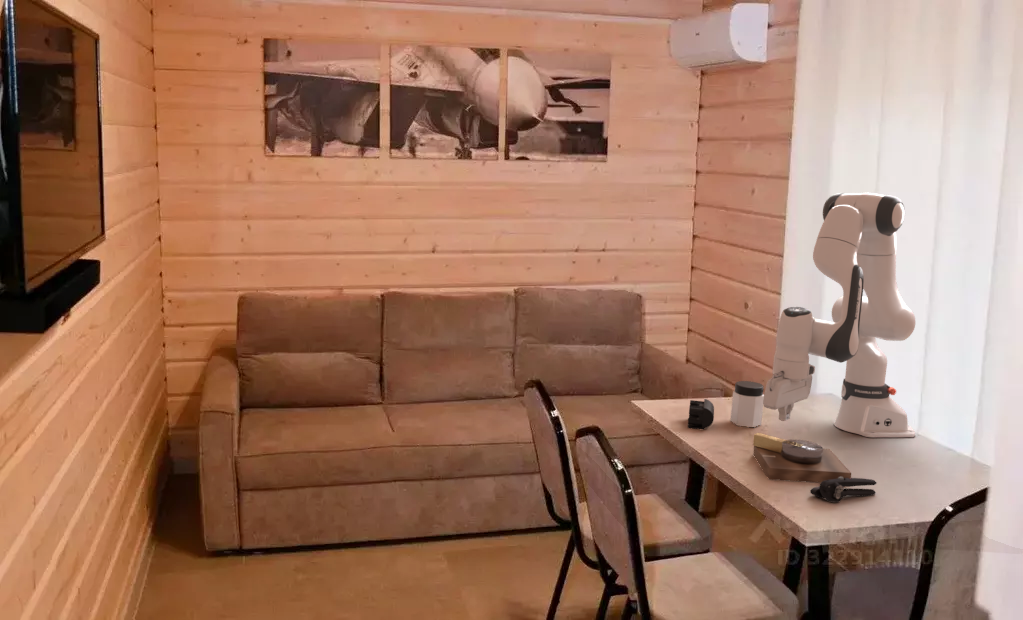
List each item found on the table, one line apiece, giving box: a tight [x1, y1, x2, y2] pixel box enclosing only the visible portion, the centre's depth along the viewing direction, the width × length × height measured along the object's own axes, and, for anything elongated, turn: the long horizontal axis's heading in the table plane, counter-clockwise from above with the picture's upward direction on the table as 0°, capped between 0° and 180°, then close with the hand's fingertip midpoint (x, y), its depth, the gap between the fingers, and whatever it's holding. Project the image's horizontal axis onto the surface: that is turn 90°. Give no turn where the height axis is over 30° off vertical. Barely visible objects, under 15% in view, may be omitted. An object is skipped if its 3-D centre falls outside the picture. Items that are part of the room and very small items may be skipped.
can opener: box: [809, 477, 877, 503], centre depth 225 cm, size 18×7×6 cm, turn 112°
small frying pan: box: [752, 432, 824, 464], centre depth 245 cm, size 18×10×3 cm, turn 48°
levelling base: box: [752, 445, 852, 484], centre depth 243 cm, size 20×18×3 cm
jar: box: [729, 380, 765, 428], centre depth 280 cm, size 9×8×12 cm
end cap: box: [687, 398, 715, 430], centre depth 276 cm, size 10×7×7 cm
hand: (784, 419), depth 251 cm, fingers closed
